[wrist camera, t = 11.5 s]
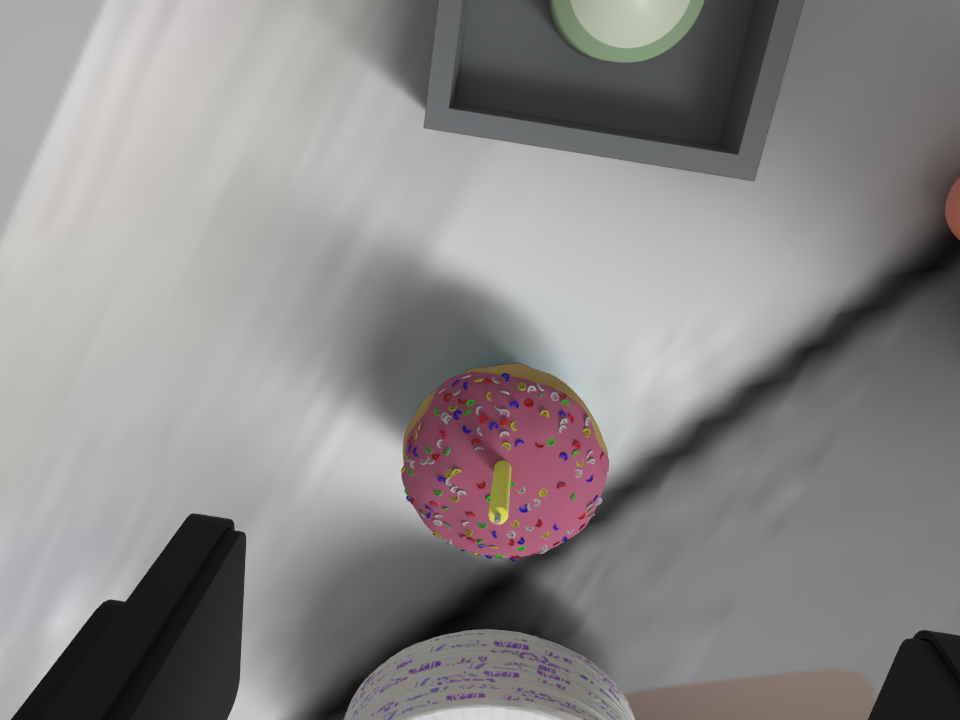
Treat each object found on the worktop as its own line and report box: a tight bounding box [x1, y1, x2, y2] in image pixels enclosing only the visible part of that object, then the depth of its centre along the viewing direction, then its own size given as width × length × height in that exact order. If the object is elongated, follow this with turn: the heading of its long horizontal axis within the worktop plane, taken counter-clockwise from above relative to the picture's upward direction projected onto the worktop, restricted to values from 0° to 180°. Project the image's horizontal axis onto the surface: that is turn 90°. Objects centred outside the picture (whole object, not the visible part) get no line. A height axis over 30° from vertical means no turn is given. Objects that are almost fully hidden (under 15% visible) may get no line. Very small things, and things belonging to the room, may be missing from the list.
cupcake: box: [401, 364, 609, 562], centre depth 31 cm, size 9×8×12 cm
